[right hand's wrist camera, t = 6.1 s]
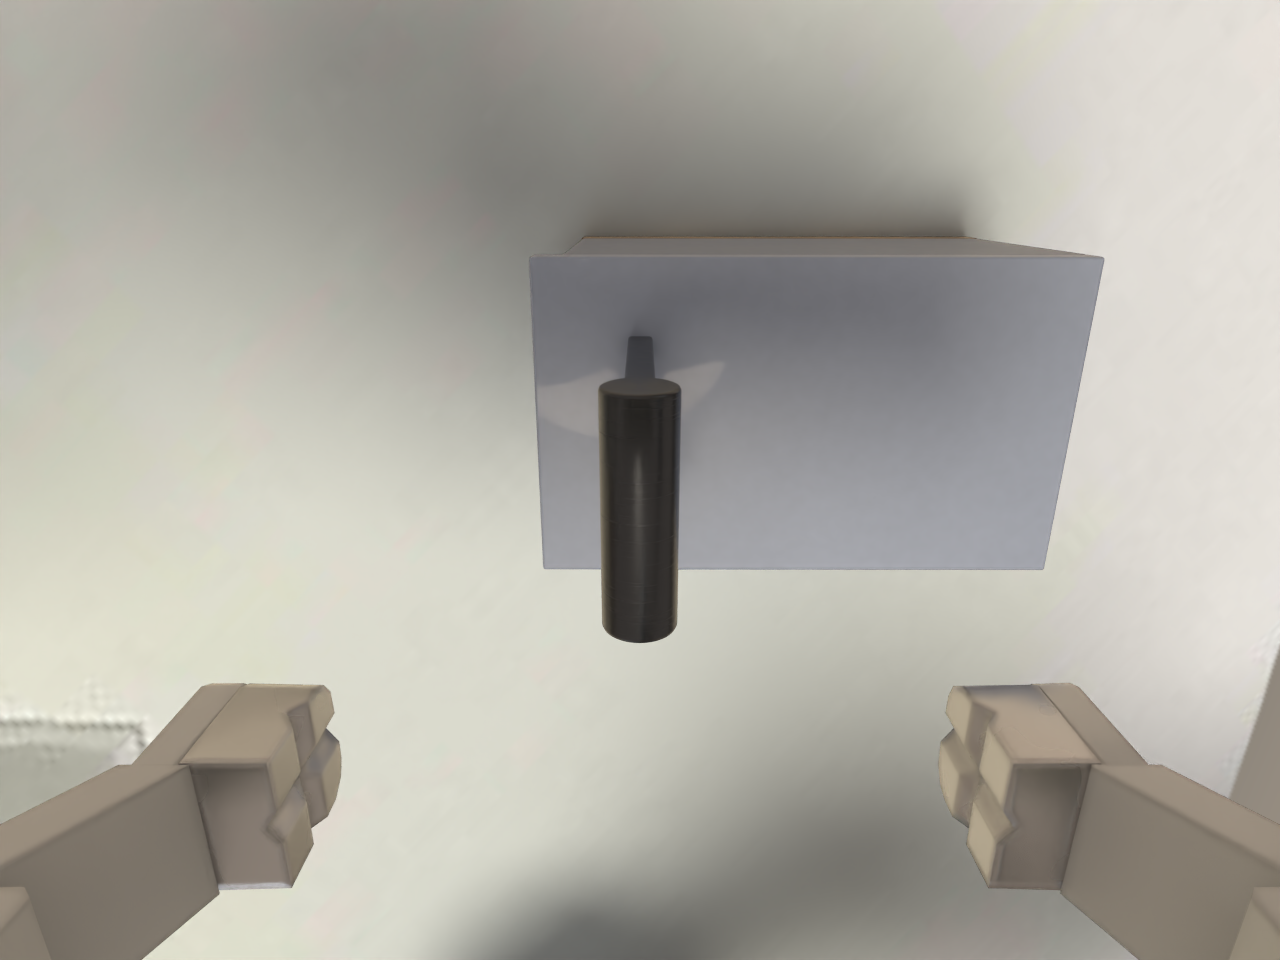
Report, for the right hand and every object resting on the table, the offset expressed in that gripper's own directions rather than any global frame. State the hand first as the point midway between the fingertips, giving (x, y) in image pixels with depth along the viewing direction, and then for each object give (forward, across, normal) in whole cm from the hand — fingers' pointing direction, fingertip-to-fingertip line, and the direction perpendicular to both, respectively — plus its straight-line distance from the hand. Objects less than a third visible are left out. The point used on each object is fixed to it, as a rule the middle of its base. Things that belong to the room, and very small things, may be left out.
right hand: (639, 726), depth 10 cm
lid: (+15, +5, 0) cm, 16 cm away
